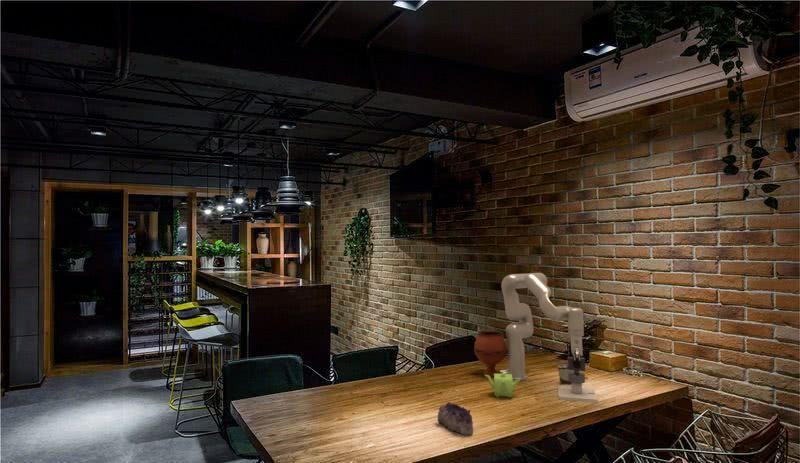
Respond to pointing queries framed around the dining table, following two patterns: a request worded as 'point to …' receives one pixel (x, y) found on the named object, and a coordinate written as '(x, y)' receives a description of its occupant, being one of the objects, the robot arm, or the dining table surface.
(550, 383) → the dining table surface
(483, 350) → the goblet
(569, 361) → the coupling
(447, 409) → the geode
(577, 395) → the post base
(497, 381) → the kettle
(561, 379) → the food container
